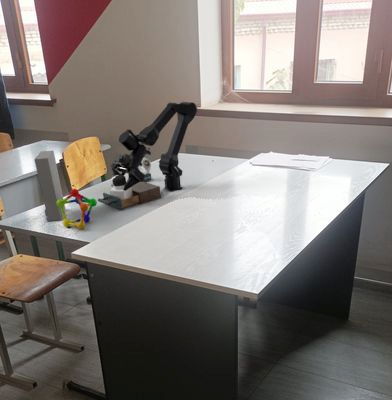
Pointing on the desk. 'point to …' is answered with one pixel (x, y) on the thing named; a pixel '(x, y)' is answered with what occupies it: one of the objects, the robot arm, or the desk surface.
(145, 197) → the cabinet
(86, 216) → the educational toy
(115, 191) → the medicine bottle
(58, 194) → the tall grey pillar
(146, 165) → the snow globe
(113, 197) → the drawer
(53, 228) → the desk surface
